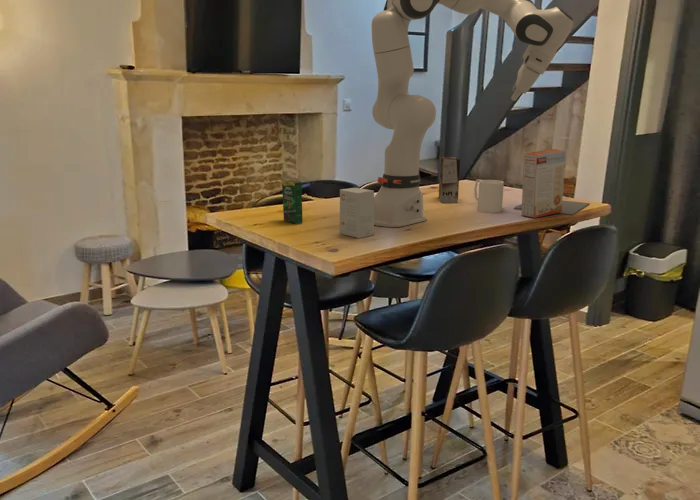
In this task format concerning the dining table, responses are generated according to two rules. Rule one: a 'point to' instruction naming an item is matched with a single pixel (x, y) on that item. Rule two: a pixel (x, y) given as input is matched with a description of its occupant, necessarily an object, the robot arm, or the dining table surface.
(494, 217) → the dining table surface
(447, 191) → the coffee box
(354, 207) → the small box
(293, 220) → the coffee box
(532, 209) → the cracker box
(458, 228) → the dining table surface
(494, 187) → the cup
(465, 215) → the dining table surface
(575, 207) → the slate mat
